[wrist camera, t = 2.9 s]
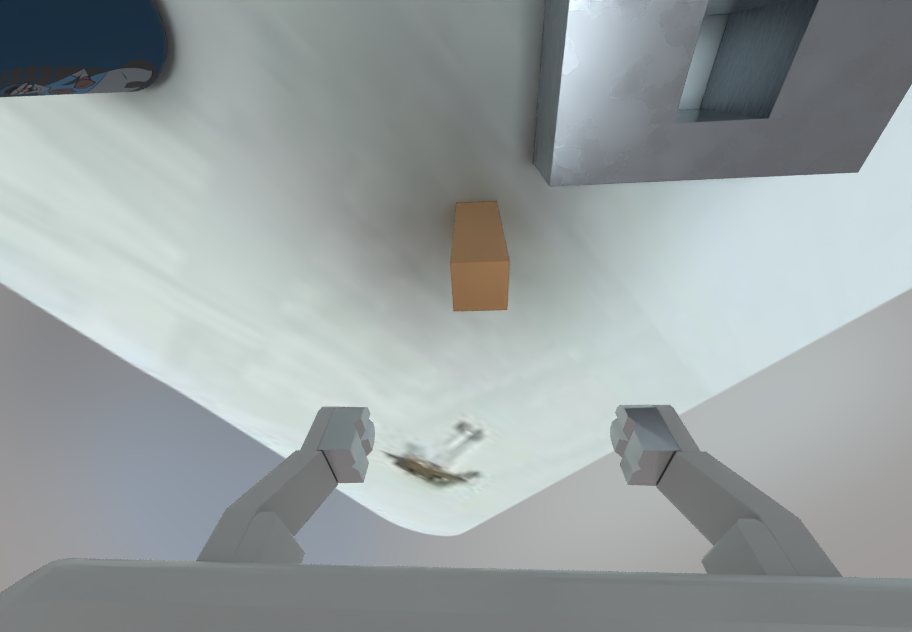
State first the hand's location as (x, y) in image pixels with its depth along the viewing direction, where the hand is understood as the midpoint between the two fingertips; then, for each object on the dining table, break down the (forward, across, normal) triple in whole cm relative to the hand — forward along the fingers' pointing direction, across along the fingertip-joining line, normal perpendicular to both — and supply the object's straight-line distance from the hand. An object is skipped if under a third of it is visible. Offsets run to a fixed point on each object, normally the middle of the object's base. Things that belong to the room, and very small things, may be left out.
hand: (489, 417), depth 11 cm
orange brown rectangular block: (+18, 0, 0) cm, 18 cm away
